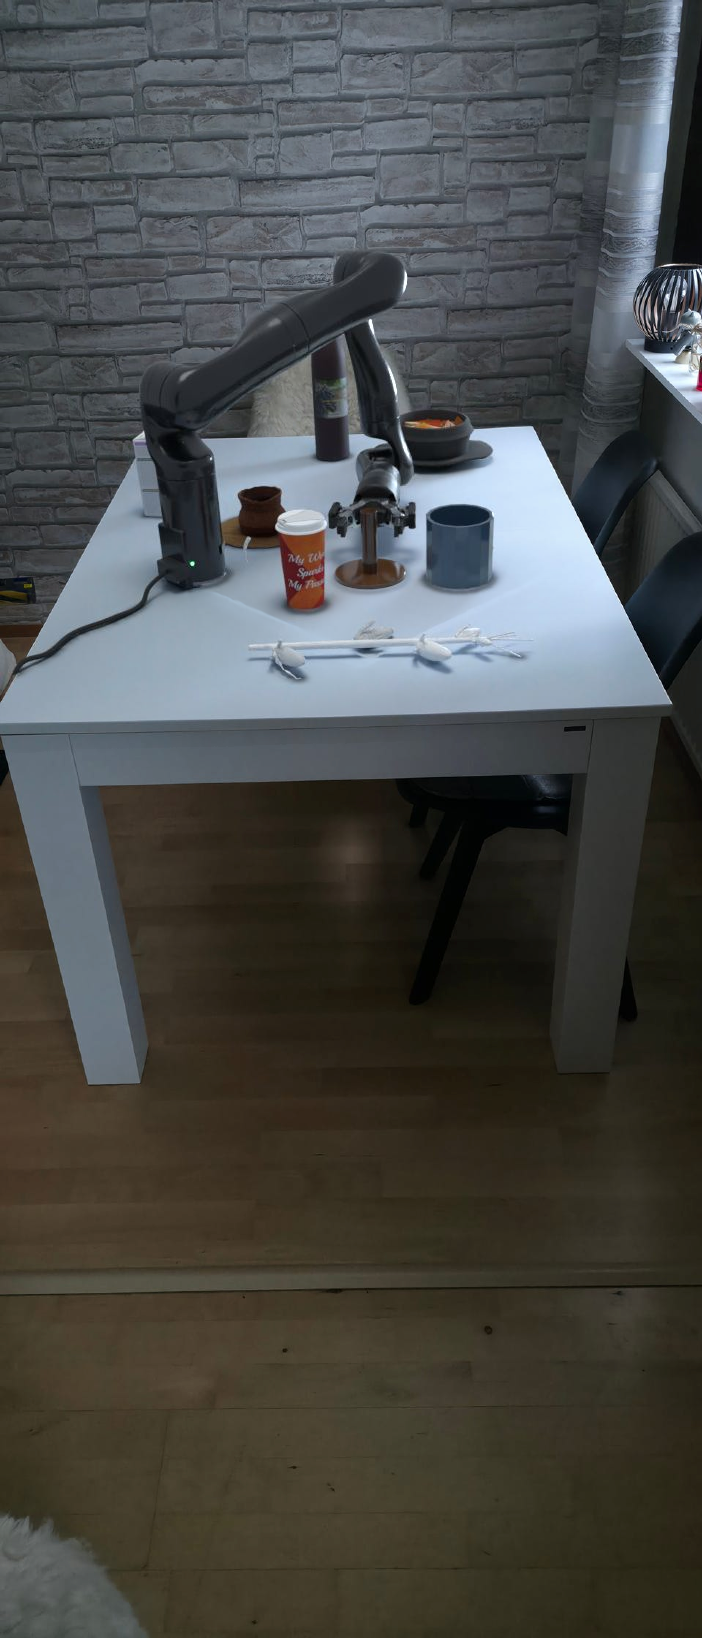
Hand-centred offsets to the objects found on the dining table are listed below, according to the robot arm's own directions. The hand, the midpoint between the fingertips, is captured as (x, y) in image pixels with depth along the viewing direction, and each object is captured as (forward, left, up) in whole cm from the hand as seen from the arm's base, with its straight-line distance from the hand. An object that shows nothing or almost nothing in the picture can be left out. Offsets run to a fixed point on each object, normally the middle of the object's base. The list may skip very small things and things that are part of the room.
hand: (369, 531), depth 178 cm
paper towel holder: (-1, -1, -7) cm, 7 cm away
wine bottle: (+40, +51, -8) cm, 66 cm away
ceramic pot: (+2, +29, -8) cm, 31 cm away
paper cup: (-15, -1, -8) cm, 17 cm away
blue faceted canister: (+8, -12, -8) cm, 16 cm away
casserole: (+51, +33, -8) cm, 62 cm away
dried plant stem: (-19, -23, -8) cm, 30 cm away
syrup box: (-4, +51, -8) cm, 52 cm away
